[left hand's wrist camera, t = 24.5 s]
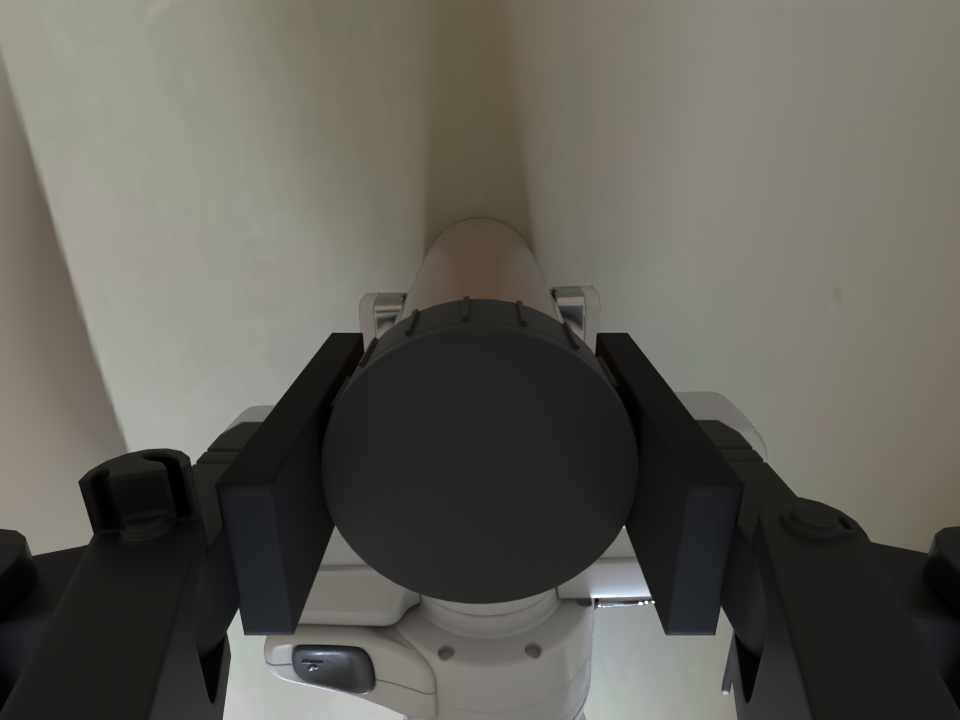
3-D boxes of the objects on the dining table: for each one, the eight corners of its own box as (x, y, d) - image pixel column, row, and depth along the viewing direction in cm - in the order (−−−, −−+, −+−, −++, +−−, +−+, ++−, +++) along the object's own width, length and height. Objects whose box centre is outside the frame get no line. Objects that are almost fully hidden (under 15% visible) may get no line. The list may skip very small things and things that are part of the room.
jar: (543, 224, 25) (637, 342, 10) (527, 334, 27) (585, 568, 12) (428, 211, 25) (351, 312, 10) (419, 322, 27) (344, 546, 12)
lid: (677, 398, 12) (713, 444, 10) (508, 583, 13) (513, 651, 12) (442, 233, 10) (435, 252, 9) (290, 461, 12) (257, 515, 10)
